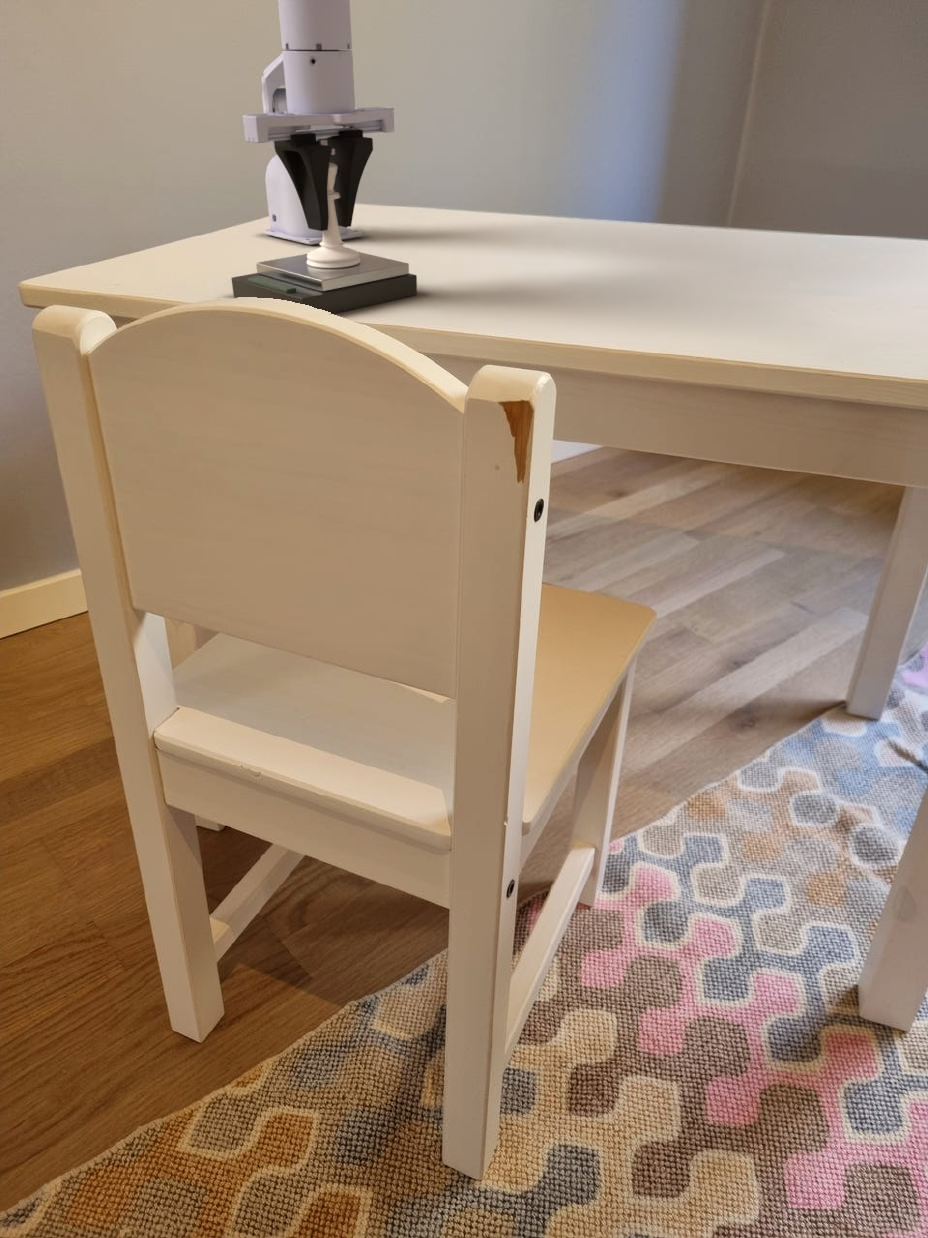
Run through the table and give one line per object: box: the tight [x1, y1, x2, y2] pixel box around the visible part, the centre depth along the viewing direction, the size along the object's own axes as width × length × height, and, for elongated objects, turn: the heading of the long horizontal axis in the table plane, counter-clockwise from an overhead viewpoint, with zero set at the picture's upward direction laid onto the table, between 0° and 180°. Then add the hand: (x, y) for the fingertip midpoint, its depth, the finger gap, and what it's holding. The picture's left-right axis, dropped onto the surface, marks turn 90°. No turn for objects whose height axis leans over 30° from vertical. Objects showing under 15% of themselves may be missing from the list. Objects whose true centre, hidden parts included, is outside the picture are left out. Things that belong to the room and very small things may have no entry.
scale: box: [230, 272, 418, 314], centre depth 85 cm, size 11×13×2 cm
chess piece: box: [306, 140, 360, 268], centre depth 82 cm, size 5×5×10 cm
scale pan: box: [255, 251, 410, 292], centre depth 85 cm, size 10×10×1 cm
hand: (329, 227), depth 83 cm, fingers closed on chess piece, 2 cm apart
